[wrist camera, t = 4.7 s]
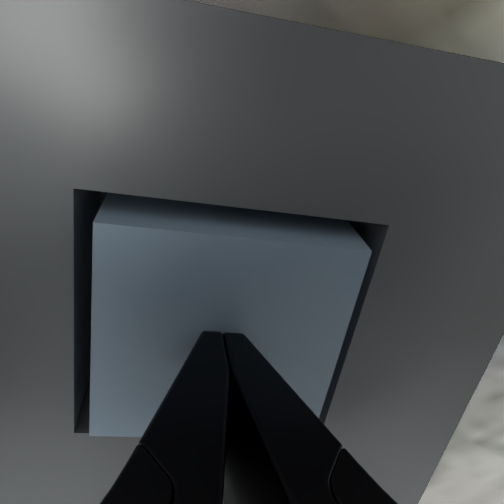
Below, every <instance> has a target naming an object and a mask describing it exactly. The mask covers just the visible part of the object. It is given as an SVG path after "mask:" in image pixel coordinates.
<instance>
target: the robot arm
mask: <svg viewBox="0 0 504 504" xmlns="http://www.w3.org/2000/svg"><path fill="white" fill-rule="evenodd" d="M342 447H343V446H342V444H341V443H340V442H339V441H338V439H337V438H336V437H335V436H334V435H333V434H332V433H331V432H330V430H329V429H328V428H327V427H326V426H325V425H324V424H323V423H322V421H321V420H320V419H319V418H318V417H317V416H316V415H315V414H314V412H313V411H312V410H311V409H310V408H309V407H308V406H307V404H306V403H305V402H304V401H303V400H302V399H301V398H300V397H299V395H298V394H297V393H296V392H295V391H294V390H293V389H292V388H291V386H290V385H289V384H288V383H287V382H286V381H285V380H284V379H283V377H282V376H281V375H280V374H279V373H278V372H277V371H276V369H275V368H274V367H273V366H272V365H271V364H270V363H269V362H268V360H267V359H266V358H265V357H264V356H263V355H262V354H261V353H260V351H259V350H258V349H257V348H256V347H255V346H254V345H253V344H252V342H251V341H250V340H249V339H248V338H247V337H246V336H245V335H244V334H243V333H231V332H225V333H224V334H222V333H221V332H215V331H203V332H202V333H201V334H200V336H199V337H198V339H197V341H196V343H195V344H194V346H193V348H192V350H191V351H190V353H189V355H188V357H187V358H186V360H185V362H184V364H183V365H182V367H181V369H180V371H179V372H178V374H177V376H176V378H175V379H174V381H173V383H172V385H171V386H170V388H169V390H168V392H167V393H166V395H165V397H164V399H163V400H162V402H161V404H160V406H159V407H158V409H157V411H156V413H155V414H154V416H153V418H152V420H151V421H150V423H149V425H148V427H147V429H146V430H145V432H144V434H143V436H142V437H141V439H140V441H139V443H138V445H137V446H136V447H135V449H134V451H133V452H132V454H131V456H130V458H129V459H128V461H127V463H126V465H125V466H124V468H123V469H122V471H121V473H120V474H119V476H118V477H117V479H116V481H115V482H114V484H113V485H112V487H111V488H110V490H109V491H108V493H107V494H106V495H105V497H104V498H103V500H102V501H101V502H100V504H223V500H224V504H398V503H397V502H396V501H395V500H394V499H393V498H392V497H391V496H390V495H389V494H388V493H387V492H385V491H384V490H383V489H382V488H381V487H380V486H379V484H378V483H377V482H376V481H375V480H374V479H373V478H372V477H371V476H370V475H369V474H368V473H367V472H366V470H365V469H364V468H363V467H362V466H361V465H360V464H359V463H358V462H357V461H356V460H355V458H354V457H353V456H352V455H351V454H350V453H349V452H348V451H347V449H345V448H343V449H342Z"/></svg>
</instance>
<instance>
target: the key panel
mask: <svg viewBox="0 0 504 504" xmlns="http://www.w3.org/2000/svg"><path fill="white" fill-rule="evenodd" d="M107 192H109V193H117V194H126V195H135V196H143V197H152V198H161V199H169V200H178V201H186V202H195V203H204V204H212V205H221V206H229V207H238V208H247V209H255V210H264V211H273V212H281V213H290V214H298V215H307V216H316V217H324V218H333V219H341V220H348V222H349V223H350V224H351V226H352V227H353V228H354V229H355V231H356V232H357V233H358V234H359V236H360V237H361V238H362V239H363V241H364V242H365V243H366V244H367V246H368V247H369V248H370V249H371V251H372V253H371V256H370V259H369V262H368V265H367V269H366V272H365V275H364V278H363V281H362V284H361V287H360V291H359V294H358V297H357V300H356V303H355V306H354V309H353V313H352V316H351V319H350V322H349V325H348V328H347V331H346V335H345V338H344V341H343V344H342V347H341V350H340V353H339V357H338V360H337V363H336V366H335V369H334V372H333V375H332V379H331V382H330V385H329V388H328V391H327V394H326V397H325V401H324V404H323V407H322V410H321V413H320V416H319V419H320V420H321V421H322V423H323V424H324V425H325V426H326V427H327V428H328V429H329V430H330V432H331V433H332V434H333V435H334V436H335V437H336V438H337V439H338V441H339V442H340V443H341V444H342V446H343V447H342V449H343V448H345V449H347V451H348V452H349V453H350V454H351V455H352V456H353V457H354V458H355V460H356V461H357V462H358V463H359V464H360V465H361V466H362V467H363V468H364V469H365V470H366V472H367V473H368V474H369V475H370V476H371V477H372V478H373V479H374V480H375V481H376V482H377V483H378V484H379V486H380V487H381V488H382V489H383V490H384V491H385V492H387V493H388V494H389V495H390V496H391V497H392V498H393V499H394V500H395V501H396V502H397V503H398V504H418V502H419V501H420V499H421V497H422V495H423V493H424V491H425V489H426V487H427V485H428V483H429V481H430V479H431V477H432V475H433V473H434V471H435V469H436V467H437V465H438V463H439V461H440V459H441V457H442V455H443V453H444V451H445V449H446V447H447V445H448V443H449V441H450V439H451V437H452V435H453V433H454V431H455V429H456V427H457V425H458V423H459V421H460V419H461V417H462V415H463V413H464V411H465V409H466V407H467V405H468V403H469V401H470V399H471V397H472V395H473V393H474V392H475V390H476V388H477V386H478V384H479V382H480V380H481V378H482V376H483V374H484V372H485V370H486V368H487V366H488V364H489V362H490V360H491V358H492V356H493V354H494V352H495V350H496V348H497V346H498V344H499V342H500V340H501V338H502V336H503V334H504V63H500V62H495V61H490V60H485V59H480V58H475V57H470V56H465V55H460V54H455V53H450V52H444V51H439V50H434V49H429V48H424V47H419V46H414V45H409V44H404V43H399V42H394V41H389V40H384V39H379V38H374V37H369V36H364V35H359V34H354V33H348V32H343V31H338V30H333V29H328V28H323V27H318V26H313V25H308V24H303V23H298V22H293V21H288V20H283V19H278V18H273V17H268V16H263V15H258V14H252V13H247V12H242V11H237V10H232V9H227V8H222V7H217V6H212V5H207V4H202V3H197V2H192V1H187V0H0V504H100V502H101V501H102V500H103V498H104V497H105V495H106V494H107V493H108V491H109V490H110V488H111V487H112V485H113V484H114V482H115V481H116V479H117V477H118V476H119V474H120V473H121V471H122V469H123V468H124V466H125V465H126V463H127V461H128V459H129V458H130V456H131V454H132V452H133V451H134V449H135V447H136V446H137V445H138V443H139V441H140V439H141V437H112V436H89V420H90V362H91V304H92V246H93V221H94V219H95V217H96V215H97V213H98V211H99V209H100V207H101V205H102V203H103V201H104V199H105V196H106V194H107ZM223 504H224V500H223Z"/></svg>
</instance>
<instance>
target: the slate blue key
mask: <svg viewBox="0 0 504 504" xmlns="http://www.w3.org/2000/svg"><path fill="white" fill-rule="evenodd" d="M371 253H372V251H371V249H370V248H369V247H368V246H367V244H366V243H365V242H364V241H363V239H362V238H361V237H360V236H359V234H358V233H357V232H356V231H355V229H354V228H353V227H352V226H351V224H350V223H349V222H348V220H341V219H333V218H324V217H316V216H307V215H298V214H290V213H281V212H273V211H264V210H255V209H247V208H238V207H229V206H221V205H212V204H204V203H195V202H186V201H178V200H169V199H161V198H152V197H143V196H135V195H126V194H117V193H109V192H107V194H106V196H105V199H104V201H103V203H102V205H101V207H100V209H99V211H98V213H97V215H96V217H95V219H94V221H93V246H92V304H91V362H90V420H89V436H112V437H142V436H143V434H144V432H145V430H146V429H147V427H148V425H149V423H150V421H151V420H152V418H153V416H154V414H155V413H156V411H157V409H158V407H159V406H160V404H161V402H162V400H163V399H164V397H165V395H166V393H167V392H168V390H169V388H170V386H171V385H172V383H173V381H174V379H175V378H176V376H177V374H178V372H179V371H180V369H181V367H182V365H183V364H184V362H185V360H186V358H187V357H188V355H189V353H190V351H191V350H192V348H193V346H194V344H195V343H196V341H197V339H198V337H199V336H200V334H201V333H202V332H203V331H215V332H221V333H222V334H224V333H225V332H231V333H243V334H244V335H245V336H246V337H247V338H248V339H249V340H250V341H251V342H252V344H253V345H254V346H255V347H256V348H257V349H258V350H259V351H260V353H261V354H262V355H263V356H264V357H265V358H266V359H267V360H268V362H269V363H270V364H271V365H272V366H273V367H274V368H275V369H276V371H277V372H278V373H279V374H280V375H281V376H282V377H283V379H284V380H285V381H286V382H287V383H288V384H289V385H290V386H291V388H292V389H293V390H294V391H295V392H296V393H297V394H298V395H299V397H300V398H301V399H302V400H303V401H304V402H305V403H306V404H307V406H308V407H309V408H310V409H311V410H312V411H313V412H314V414H315V415H316V416H317V417H318V418H319V416H320V413H321V410H322V407H323V404H324V401H325V397H326V394H327V391H328V388H329V385H330V382H331V379H332V375H333V372H334V369H335V366H336V363H337V360H338V357H339V353H340V350H341V347H342V344H343V341H344V338H345V335H346V331H347V328H348V325H349V322H350V319H351V316H352V313H353V309H354V306H355V303H356V300H357V297H358V294H359V291H360V287H361V284H362V281H363V278H364V275H365V272H366V269H367V265H368V262H369V259H370V256H371Z"/></svg>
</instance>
